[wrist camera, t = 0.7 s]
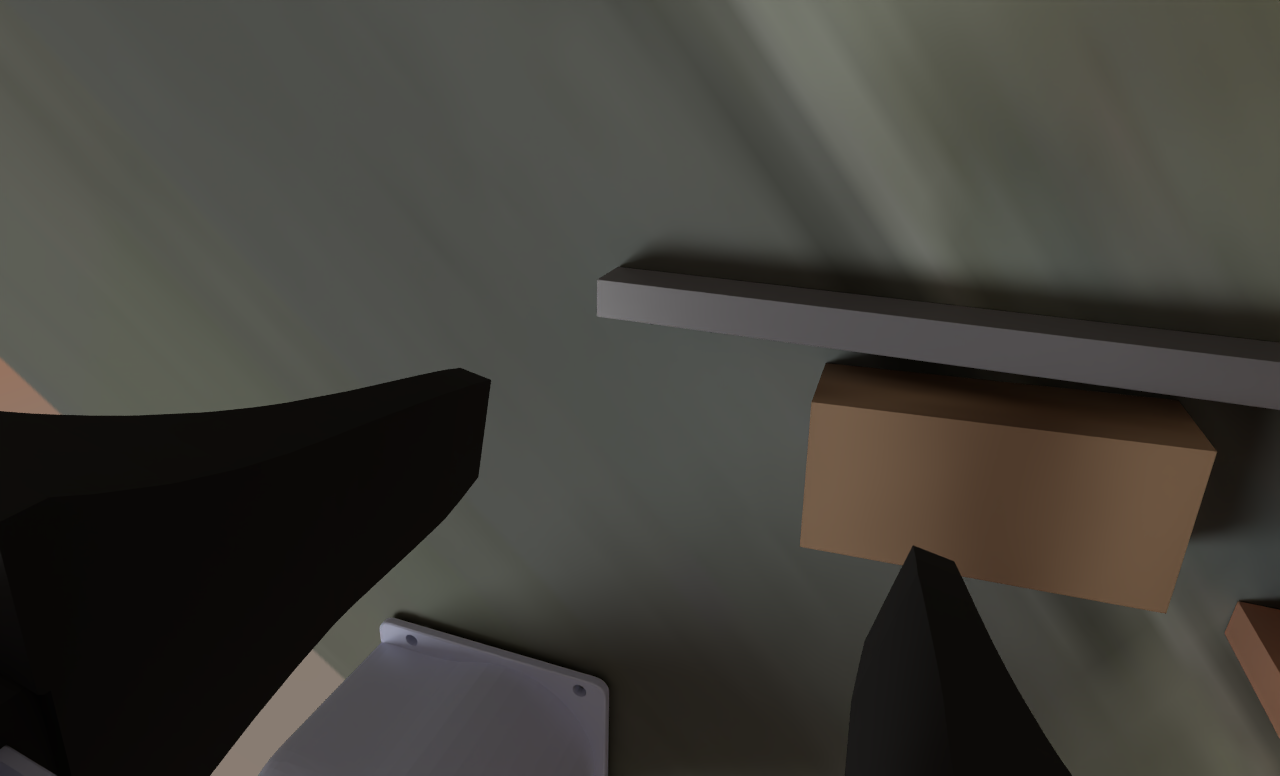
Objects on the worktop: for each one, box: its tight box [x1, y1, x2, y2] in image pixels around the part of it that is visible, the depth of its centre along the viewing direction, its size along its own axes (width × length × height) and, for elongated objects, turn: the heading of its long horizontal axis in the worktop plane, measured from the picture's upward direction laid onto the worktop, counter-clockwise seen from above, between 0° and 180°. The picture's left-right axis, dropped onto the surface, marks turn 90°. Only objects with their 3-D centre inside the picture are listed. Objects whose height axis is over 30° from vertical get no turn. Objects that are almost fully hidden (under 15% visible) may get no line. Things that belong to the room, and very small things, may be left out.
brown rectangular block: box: [800, 363, 1217, 614], centre depth 18 cm, size 8×4×3 cm, turn 90°
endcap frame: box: [597, 267, 1280, 738], centre depth 17 cm, size 21×8×4 cm, turn 88°
